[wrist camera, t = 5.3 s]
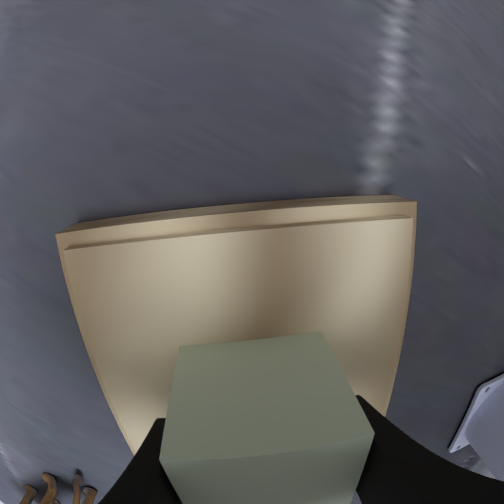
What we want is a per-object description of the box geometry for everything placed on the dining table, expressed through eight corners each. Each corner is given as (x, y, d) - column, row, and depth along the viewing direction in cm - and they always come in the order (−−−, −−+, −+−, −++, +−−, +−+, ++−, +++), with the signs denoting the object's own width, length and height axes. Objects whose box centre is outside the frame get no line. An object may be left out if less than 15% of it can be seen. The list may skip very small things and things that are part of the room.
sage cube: (321, 330, 11) (374, 432, 6) (315, 423, 12) (345, 514, 8) (179, 345, 11) (159, 459, 6) (202, 435, 12) (200, 532, 7)
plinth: (391, 194, 12) (424, 203, 10) (365, 419, 16) (380, 448, 14) (77, 222, 11) (48, 237, 9) (146, 444, 15) (140, 476, 13)
